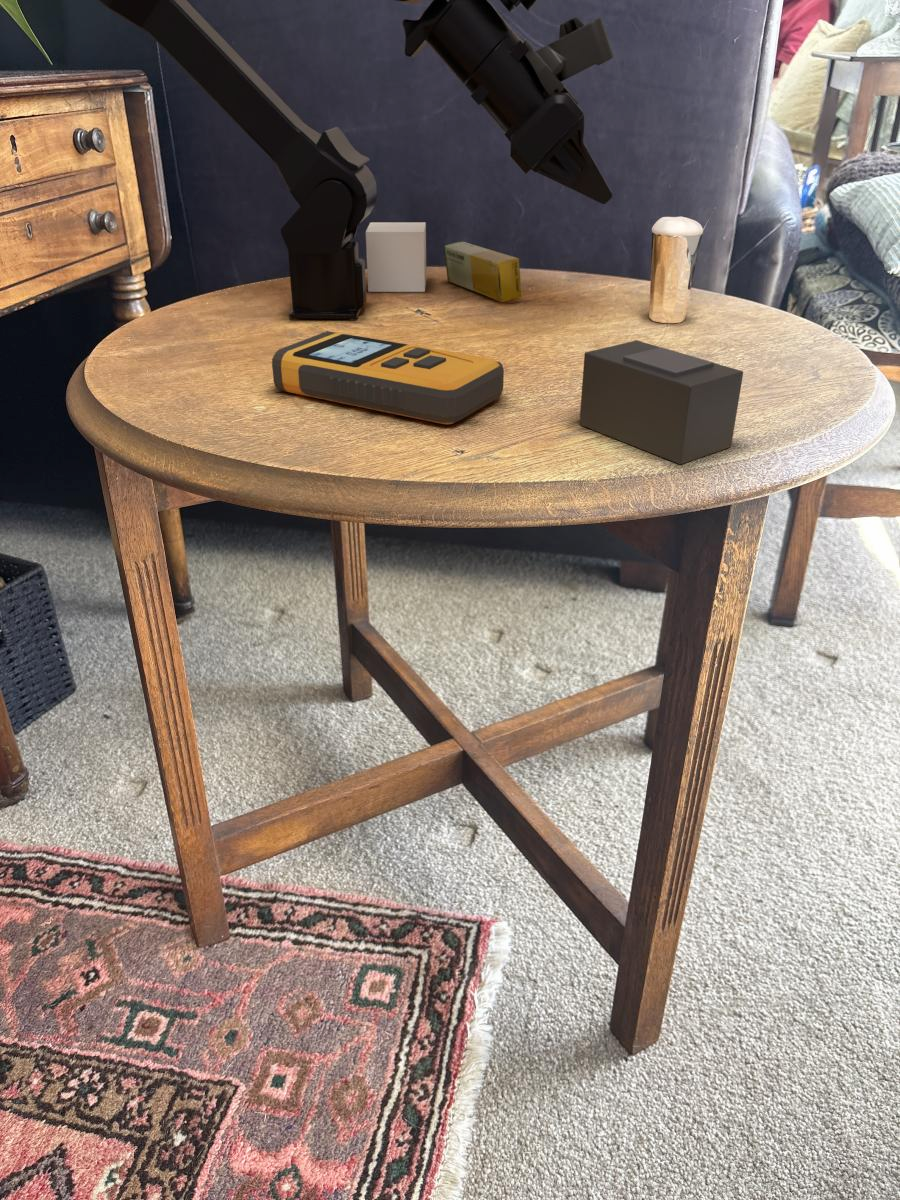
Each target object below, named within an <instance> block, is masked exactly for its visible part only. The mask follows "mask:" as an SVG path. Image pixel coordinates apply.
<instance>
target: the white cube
mask: <svg viewBox="0 0 900 1200" xmlns="http://www.w3.org/2000/svg"><path fill="white" fill-rule="evenodd" d="M365 247H366V248H365V249H366V270H367V272H366V273H367V289H368V290H367V292H368V293H395V292H396V293H424V292H426V287H427V286H426V285H427V223H426V222H424V221H423V222H422V221H421V222H415V221H413V222H409V221H407V222H405V221H404V222H401V221H400V222H398V221H396V222H391V221H390V222H385V221H384V222H383V221H382V222H381V221H379V222H378V221H375V222H369V225H368V226H367V228H366V230H365Z"/></svg>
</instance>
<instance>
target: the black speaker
mask: <svg viewBox="0 0 900 1200" xmlns="http://www.w3.org/2000/svg"><path fill="white" fill-rule="evenodd" d="M583 355H584V358H583V368H582V371H583V372H582V382H581V383H582V384H581V396H580V411H579V422H578V423H579V425H580V426H582V427H584V428H588V429H590V430H593V431H594V432H598V433H599V434H603V435H604V436H607V437H610V438H612V439H615V440H617V441H620V442H623V443H625V444H627V445H631V446H633V447H635V448H637V449H640V450H643V451H645V452H648V453H650V454H652V455H655V456H658V457H660V458H663V459H665V460H668V461H670V462H673V463H675V464H679V465H683V464H686V463H689V462H691V461H694V460H697V459H700V458H703V457H706V456H709V455H712V454H714V453H717V452H720V451H723V450H726V449H729V448H731V447H732V445H733V439H734V432H735V426H736V419H737V415H738V409H739V408H738V407H739V402H740V396H741V390H742V383H743V377H744V371H743V370H740V369H737V368H733V367H730V366H726V365H722V364H719V363H717V362H713V361H710V360H706V359H703V358H700V357H698V356H697V357H696V356H692V355H689V354H687V353H684V352H683V353H682V352H679V351H676V350H672V349H669V348H666V347H663V346H657V345H654V344H650V343H648V342H644V341H640V340H637V339H635V340H632V341H627V342H624V343H619V344H615V345H611V346H607V347H602V348H597V349H595V350H594V349H593V350H590V351H585V352H584V354H583Z"/></svg>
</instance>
